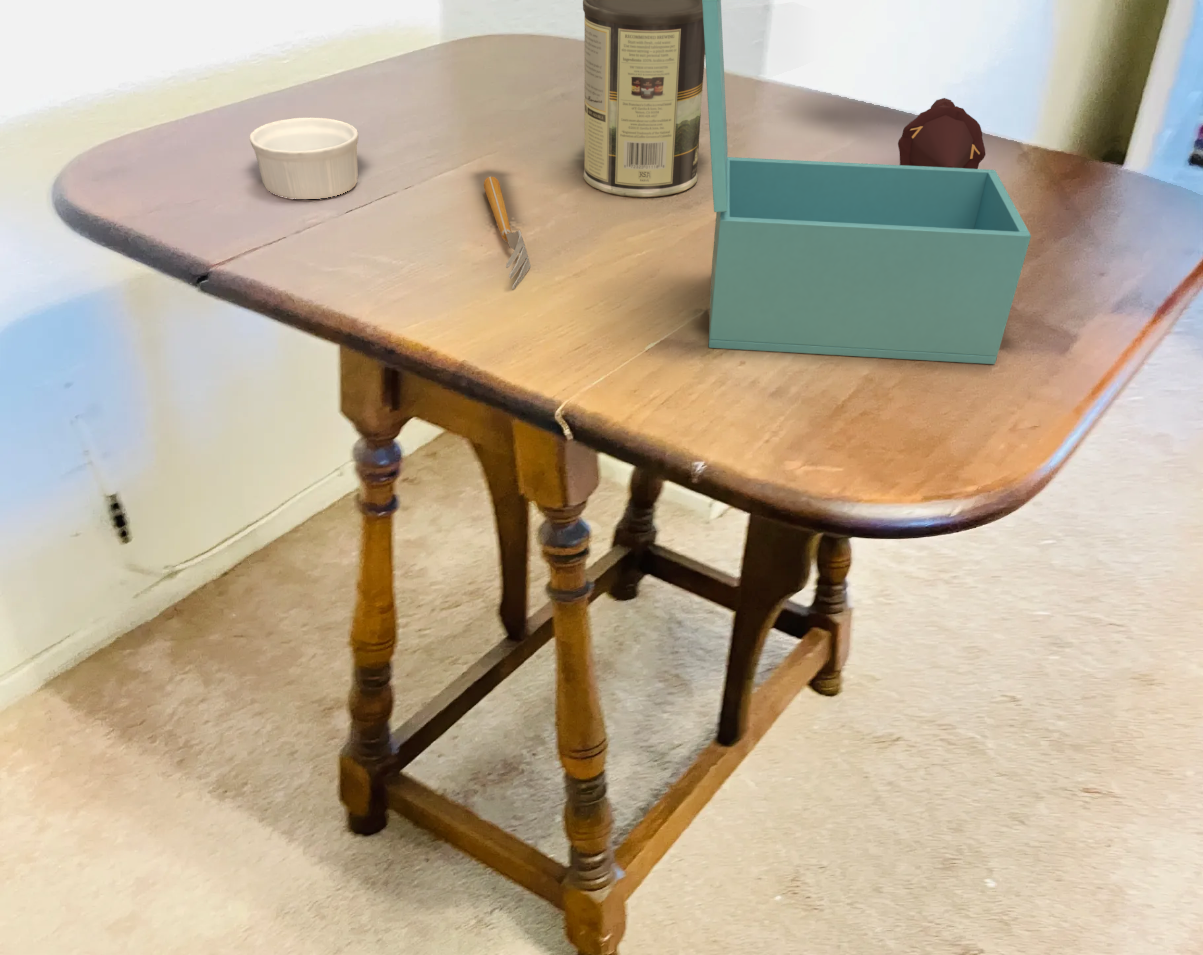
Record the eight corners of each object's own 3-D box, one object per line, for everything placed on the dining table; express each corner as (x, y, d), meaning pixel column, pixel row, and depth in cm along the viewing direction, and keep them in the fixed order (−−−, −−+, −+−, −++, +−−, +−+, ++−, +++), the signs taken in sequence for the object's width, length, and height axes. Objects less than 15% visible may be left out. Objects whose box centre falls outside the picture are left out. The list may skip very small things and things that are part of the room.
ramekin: (385, 181, 94) (379, 129, 91) (311, 212, 88) (303, 157, 85) (312, 161, 98) (304, 110, 95) (236, 189, 92) (226, 136, 89)
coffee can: (661, 152, 101) (670, -18, 92) (719, 187, 94) (735, 7, 85) (562, 167, 97) (561, -9, 88) (615, 205, 91) (620, 19, 81)
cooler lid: (711, -196, 62) (698, -194, 62) (708, -177, 53) (692, -174, 53) (727, 149, 74) (716, 150, 74) (727, 211, 65) (714, 212, 66)
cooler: (965, 288, 79) (995, 169, 74) (995, 364, 70) (1031, 235, 65) (711, 275, 80) (721, 156, 75) (708, 348, 71) (719, 219, 66)
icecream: (1014, 140, 85) (987, 103, 97) (927, 109, 85) (911, 76, 97) (972, 225, 89) (951, 179, 102) (889, 196, 89) (878, 153, 101)
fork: (475, 172, 91) (504, 261, 76) (496, 166, 91) (529, 253, 76) (484, 201, 93) (513, 294, 78) (504, 195, 93) (538, 286, 78)
